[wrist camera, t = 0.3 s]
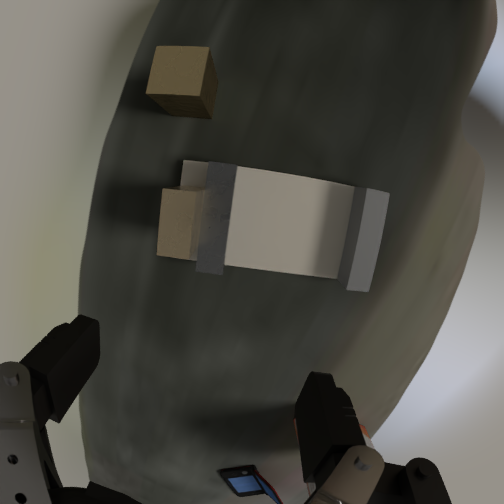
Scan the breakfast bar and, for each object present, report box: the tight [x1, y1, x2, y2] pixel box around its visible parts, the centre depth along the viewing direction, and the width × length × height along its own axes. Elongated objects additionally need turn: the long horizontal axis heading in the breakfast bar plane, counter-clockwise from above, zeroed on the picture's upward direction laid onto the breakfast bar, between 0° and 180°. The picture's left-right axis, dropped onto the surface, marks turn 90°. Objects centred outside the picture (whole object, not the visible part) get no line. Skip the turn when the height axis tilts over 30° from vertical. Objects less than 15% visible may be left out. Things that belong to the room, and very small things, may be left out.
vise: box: [173, 160, 390, 292], centre depth 35 cm, size 12×24×5 cm, turn 82°
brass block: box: [146, 46, 218, 119], centre depth 28 cm, size 5×5×11 cm
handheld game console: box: [221, 465, 283, 504], centre depth 47 cm, size 12×11×7 cm
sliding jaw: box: [157, 161, 238, 275], centre depth 31 cm, size 12×6×10 cm, turn 172°
